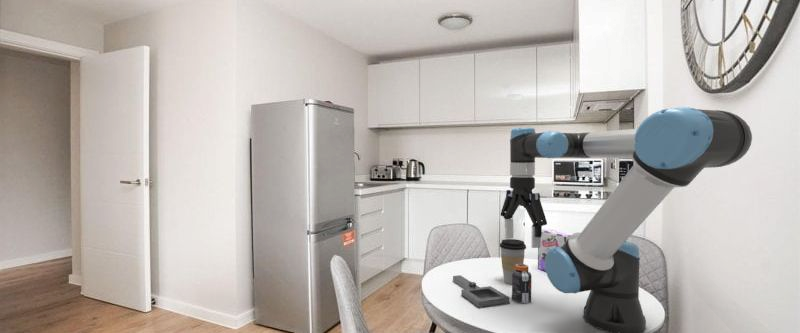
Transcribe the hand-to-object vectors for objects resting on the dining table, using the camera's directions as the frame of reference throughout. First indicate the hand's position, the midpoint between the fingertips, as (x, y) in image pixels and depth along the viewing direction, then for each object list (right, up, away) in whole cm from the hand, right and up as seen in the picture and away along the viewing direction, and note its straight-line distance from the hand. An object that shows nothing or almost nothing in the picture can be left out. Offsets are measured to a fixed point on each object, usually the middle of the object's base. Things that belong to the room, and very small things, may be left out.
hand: (521, 242), depth 121 cm
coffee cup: (+2, -18, +18) cm, 26 cm away
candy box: (+23, -18, +29) cm, 41 cm away
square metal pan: (-14, -18, +7) cm, 24 cm away
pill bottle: (0, -19, 0) cm, 19 cm away
